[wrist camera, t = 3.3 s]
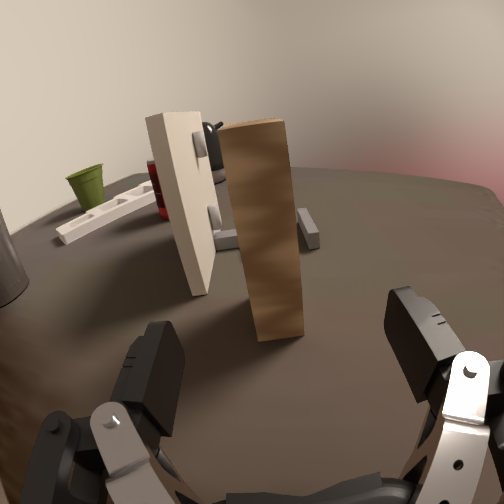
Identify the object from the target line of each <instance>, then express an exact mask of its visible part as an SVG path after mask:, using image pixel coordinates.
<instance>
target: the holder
mask: <svg viewBox="0 0 504 504" xmlns="http://www.w3.org/2000/svg"><path fill="white" fill-rule="evenodd" d="M113 198H114V199H112V200H110V201H108V202H105V203H103V204H101V205H99V206H97V207H95V208H92V209H90V210H88V211H86V214H84V215H82V216H80V217H78V218H76V219H74V220H72V221H70V222H68V223H66V224H64V225H62V226H60V227H58V228H56V231H57V234H58V236H59V238H60V239H61V240H62V241H63V243H64V244H65V245H67V244H69V243H71V242H72V241H74V240H76V239H78V238H80V237H82V236H84V235H86V234H88V233H90V232H91V231H93V230H95V229H97V228H99V227H101V226H103V225H105V224H107V223H109V222H111V221H113V220H116V219H118V218H120V217H122V216H124V215H126V214H128V213H130V212H132V211H134V210H137V209H139V208H141V207H143V206H145V205H148V204H150V203H152V202H154V201H156V198H155V194H154V191H153V187H152V183H151V180H150V181H147V182H145V183H142V184H140V185H138V187H136V188H134V189H131V190H129V191H126V192H124V193H122V194H119V195H117V196H115V197H113Z"/></svg>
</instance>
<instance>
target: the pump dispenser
mask: <svg viewBox="0 0 504 504" xmlns="http://www.w3.org/2000/svg"><path fill="white" fill-rule="evenodd" d="M222 125H223V122H219V123H217V124H216V125H214V126H213V125H212V124H210V123H208V122H202V126H203V131H204V137H205V142H206V147H207V152H208V157H209V162H210V167H211V173H212V178H213V183H214V184H215V183H218V182H221V181H223V180H224V179H225V178H226V175H225V169H224V164H223V158H222V153H221V148H220V142H219V137H218V131H217V130H218V129H219V128H220V127H221V126H222Z"/></svg>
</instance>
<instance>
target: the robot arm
mask: <svg viewBox="0 0 504 504" xmlns="http://www.w3.org/2000/svg"><path fill="white" fill-rule="evenodd" d="M28 283H29V278H28V276H27V274H26V272H25V270H24V268H23V265H22V263H21V261H20V259H19V256H18V254H17V252H16V249H15V247H14V245H13V242H12V240H11V237H10V235H9V232H8V229H7V227H6V224H5V221H4V218H3V216H2V213H1V210H0V307H1V306H3V305H5V304H7V303H9V302H10V301H12V300H13V299H14V298H16V297H17V296H18V295H19V294H20V293H21V292H22V291H23V290H24V289H25V288H26V286H27V285H28ZM384 330H385V334H386V337H387V339H388V341H389V343H390V345H391V347H392V349H393V351H394V353H395V355H396V358H397V360H398V362H399V364H400V366H401V368H402V370H403V373H404V375H405V377H406V379H407V381H408V384H409V386H410V388H411V390H412V393H413V395H414V397H415V400H416V402H417V403H419V402H422V401H425V400H428V402H429V405H430V406H429V407H428V410H427V413H426V416H425V419H424V422H423V425H422V428H421V431H420V434H419V437H418V439H417V442H416V445H415V447H414V450H413V452H412V454H411V456H410V458H409V459H408V461H407V463H406V465H405V466H404V468H403V470H402V472H401V474H400V476H399V479H396V478H381V476H380V472H377V473H373V474H370V475H366V476H363V477H359V478H355V479H351V480H346V481H343V482H340V483H338V484H336V485H334V486H331V487H329V488H327V489H324V490H322V491H319V492H317V493H314V494H312V495H309V496H304V497H299V496H289V495H280V494H272V493H265V492H261V493H226V500H222V501H219V502H216V503H213V504H471V502H472V499H473V496H474V493H475V490H476V487H477V484H478V481H479V477H480V474H481V470H482V466H483V462H484V458H485V454H486V450H487V445H489V448H490V451H491V454H492V457H493V460H494V464H495V467H496V470H497V474H498V477H499V481H500V484H501V488H502V492H503V493H502V495H501V497H500V500H499V502H498V503H497V504H504V360H496V361H486V360H485V359H484V358H483V357H482V356H481V355H479V354H477V353H475V352H467V351H466V350H465V348H464V347H463V345H462V344H461V342H460V341H459V339H458V338H457V336H456V335H455V333H454V332H453V330H452V329H451V327H450V326H449V325H448V323H446V320H445V319H444V318H443V316H442V315H440V312H439V311H438V309H437V308H436V307H435V305H434V304H433V303H431V302H430V301H428V300H427V299H425V298H424V297H418V296H417V295H416V293H415V292H414V291H413V289H412V288H411V287H410V286H406V287H402V288H397V289H392V290H390V291H389V294H388V300H387V307H386V313H385V318H384ZM184 365H185V356H184V351H183V348H182V346H181V344H180V341H179V339H178V337H177V334H176V332H175V330H174V328H173V325H172V323H171V322H170V321H158V322H150V323H149V324H148V326H147V328H146V331H145V334H144V336H139V337H138V338H137V339H136V340H135V341H134V342H133V344H132V345H131V346H130V348H129V351H128V353H127V356H126V359H125V361H124V363H123V368H122V369H121V371H120V374H119V377H118V380H117V382H116V385H115V388H114V391H113V393H112V396H111V399H110V401H109V402H107V403H104V404H102V405H100V406H99V407H97V408H96V409H95V411H94V412H93V414H92V416H89V417H84V418H78V419H72V418H70V417H69V416H68V415H67V414H66V413H65V412H63V411H55V412H52V413H50V414H49V415H48V416H47V417H46V418H45V419H44V421H43V423H42V426H41V428H40V431H39V434H38V437H37V440H36V443H35V446H34V449H33V453H32V456H31V459H30V463H29V466H28V470H27V474H26V477H25V481H24V485H23V490H22V494H21V499H20V504H106V502H107V495H108V492H109V494H110V496H111V498H112V500H113V502H114V504H204V503H203V502H202V501H201V499H200V498H199V497H198V496H197V495H196V494H195V493H194V492H193V491H192V490H191V489H190V488H189V487H188V485H187V484H186V483H185V482H184V480H183V479H182V478H181V476H180V475H179V473H178V472H177V470H176V469H175V467H174V466H173V464H172V463H171V461H170V460H169V458H168V457H167V455H166V454H165V452H164V451H163V449H162V447H161V446H160V445H159V443H160V437H161V436H166V437H172V431H173V425H174V419H175V413H176V407H177V402H178V396H179V391H180V385H181V380H182V375H183V370H184ZM73 461H74V462H75V467H74V471H73V476H72V481H71V486H70V491H69V490H68V479H69V475H70V470H71V466H72V462H73Z"/></svg>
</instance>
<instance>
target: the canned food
mask: <svg viewBox="0 0 504 504" xmlns="http://www.w3.org/2000/svg"><path fill="white" fill-rule="evenodd" d="M147 167H148V171H149V175H150V179H151V183H152V187H153V191H154V194H155V198H156V202H157V205H158V209H159V212H160V215H161V216H162V218H163V219H167V220H169V216H168V213H167V209H166V205H165V201H164V198H163V194H162V190H161V186H160V182H159V178H158V174H157V170H156V165H155V161H154V157H153V158H151V159H149V160H147Z"/></svg>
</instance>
